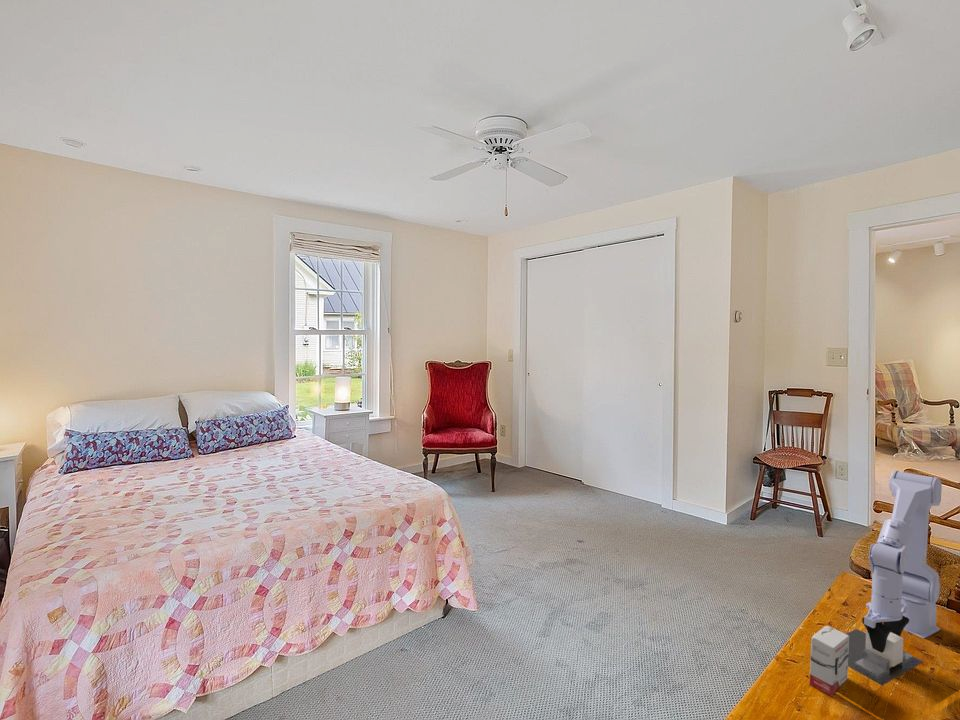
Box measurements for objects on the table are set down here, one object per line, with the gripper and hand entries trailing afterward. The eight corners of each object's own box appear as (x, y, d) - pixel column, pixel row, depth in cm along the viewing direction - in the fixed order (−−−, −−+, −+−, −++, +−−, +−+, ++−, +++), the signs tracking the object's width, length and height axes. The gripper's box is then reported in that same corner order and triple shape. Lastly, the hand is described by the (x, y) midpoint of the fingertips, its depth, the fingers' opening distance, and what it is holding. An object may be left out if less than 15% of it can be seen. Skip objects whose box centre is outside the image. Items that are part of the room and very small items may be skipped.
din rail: (856, 631, 138) (856, 618, 138) (923, 664, 124) (923, 649, 124) (815, 651, 130) (815, 637, 130) (881, 688, 117) (882, 672, 116)
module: (874, 647, 128) (875, 624, 127) (902, 661, 122) (903, 638, 122) (865, 652, 126) (866, 629, 126) (893, 666, 121) (894, 642, 120)
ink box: (832, 697, 114) (833, 647, 114) (808, 684, 119) (809, 636, 118) (848, 682, 119) (850, 634, 118) (825, 670, 123) (826, 623, 122)
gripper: (884, 579, 130) (882, 629, 130) (851, 592, 123) (849, 645, 124) (917, 591, 123) (915, 645, 124) (884, 607, 117) (882, 663, 118)
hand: (884, 646), depth 124 cm, fingers open, 5 cm apart
